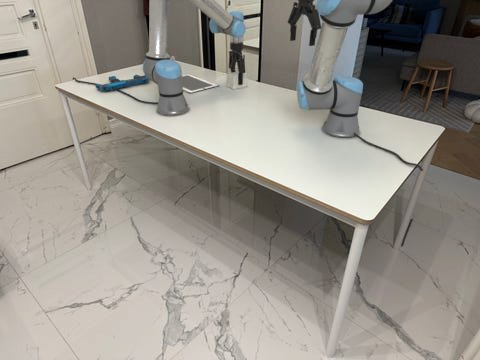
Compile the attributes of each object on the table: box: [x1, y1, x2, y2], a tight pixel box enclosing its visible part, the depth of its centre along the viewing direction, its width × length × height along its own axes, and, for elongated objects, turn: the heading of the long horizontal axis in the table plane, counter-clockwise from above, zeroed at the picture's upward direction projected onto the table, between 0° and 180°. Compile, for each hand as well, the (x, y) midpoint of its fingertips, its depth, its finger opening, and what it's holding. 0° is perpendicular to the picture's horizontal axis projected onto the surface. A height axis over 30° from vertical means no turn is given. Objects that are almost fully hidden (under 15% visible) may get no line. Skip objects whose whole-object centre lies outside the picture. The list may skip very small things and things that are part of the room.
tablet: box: [182, 73, 219, 94], centre depth 207 cm, size 32×20×1 cm, turn 41°
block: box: [226, 70, 248, 90], centre depth 201 cm, size 8×9×7 cm
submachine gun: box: [95, 74, 150, 92], centre depth 206 cm, size 34×4×25 cm
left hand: (236, 82), depth 201 cm, fingers closed on block, 7 cm apart
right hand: (302, 43), depth 157 cm, fingers open, 13 cm apart
